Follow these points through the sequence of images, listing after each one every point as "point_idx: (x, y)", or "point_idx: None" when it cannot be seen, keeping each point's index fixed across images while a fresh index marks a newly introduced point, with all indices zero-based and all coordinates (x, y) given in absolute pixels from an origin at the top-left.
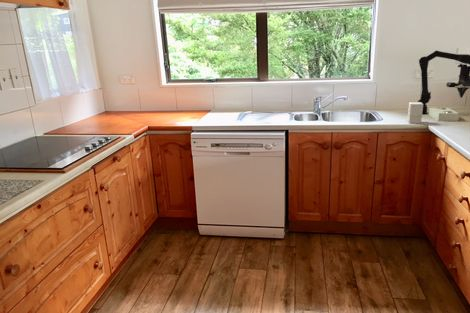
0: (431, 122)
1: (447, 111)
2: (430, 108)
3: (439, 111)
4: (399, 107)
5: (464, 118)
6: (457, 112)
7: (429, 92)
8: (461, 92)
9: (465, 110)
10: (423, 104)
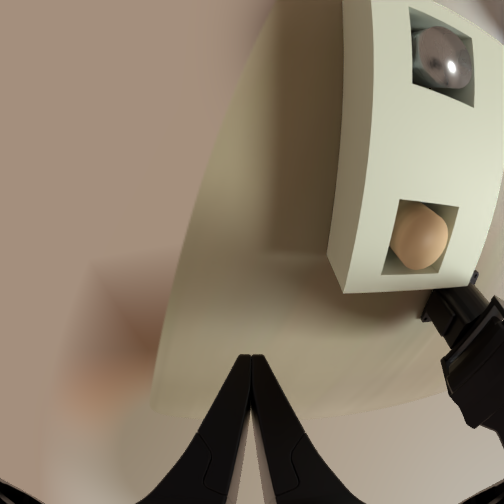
0: (497, 31)
1: (457, 66)
2: (476, 263)
3: (493, 112)
4: (422, 395)
5: (242, 94)
6: (373, 14)
7: (500, 406)
8: (280, 444)
9: (154, 370)
10: (502, 302)
